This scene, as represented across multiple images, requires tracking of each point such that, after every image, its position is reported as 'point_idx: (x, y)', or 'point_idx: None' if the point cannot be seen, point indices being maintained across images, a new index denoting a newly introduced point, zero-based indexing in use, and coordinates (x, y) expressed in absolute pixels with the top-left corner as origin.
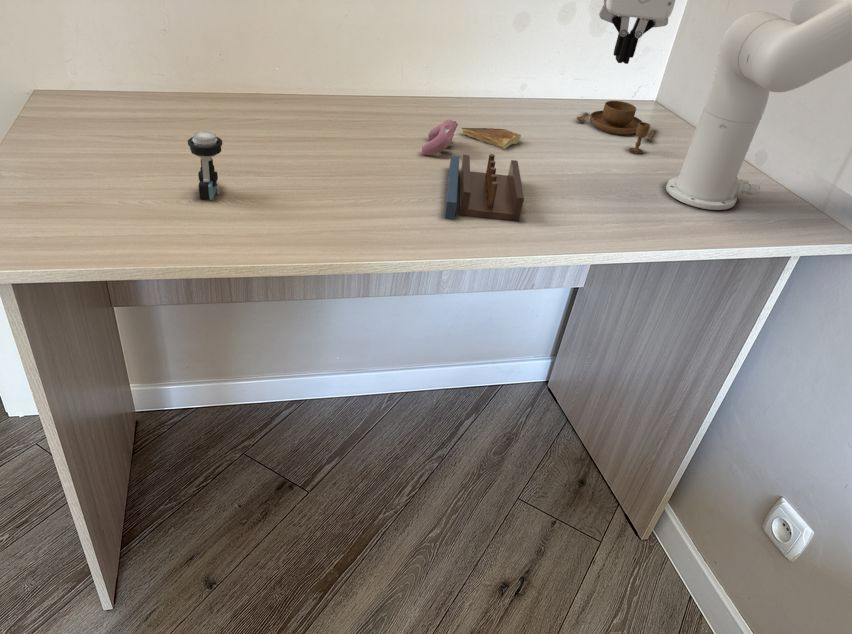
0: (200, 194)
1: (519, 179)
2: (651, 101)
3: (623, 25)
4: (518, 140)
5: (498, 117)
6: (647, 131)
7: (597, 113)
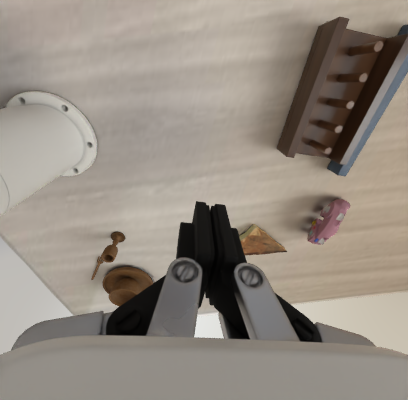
0: None
1: (312, 94)
2: None
3: (268, 304)
4: None
5: None
6: (105, 249)
7: None
